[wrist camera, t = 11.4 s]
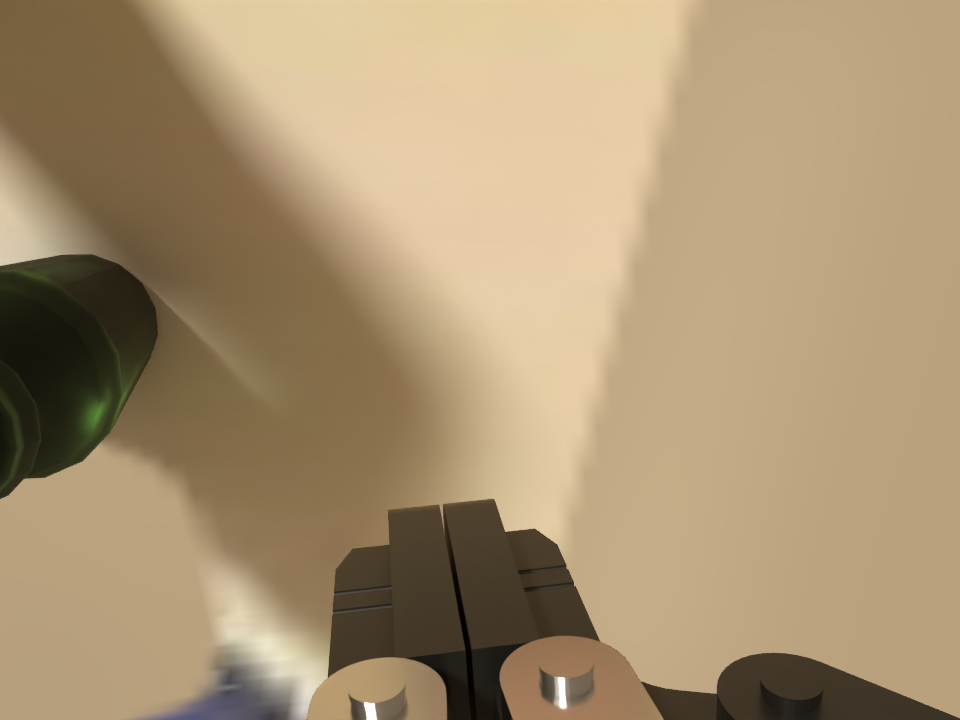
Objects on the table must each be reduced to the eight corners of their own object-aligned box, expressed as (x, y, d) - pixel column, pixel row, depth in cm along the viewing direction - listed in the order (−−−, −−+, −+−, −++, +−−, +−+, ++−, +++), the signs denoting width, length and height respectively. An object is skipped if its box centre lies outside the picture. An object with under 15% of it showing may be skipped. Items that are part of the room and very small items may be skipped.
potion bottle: (-43, 301, 40) (-355, 437, 23) (98, 200, 40) (-111, 262, 22) (77, 434, 42) (-123, 649, 25) (212, 340, 42) (102, 494, 25)
